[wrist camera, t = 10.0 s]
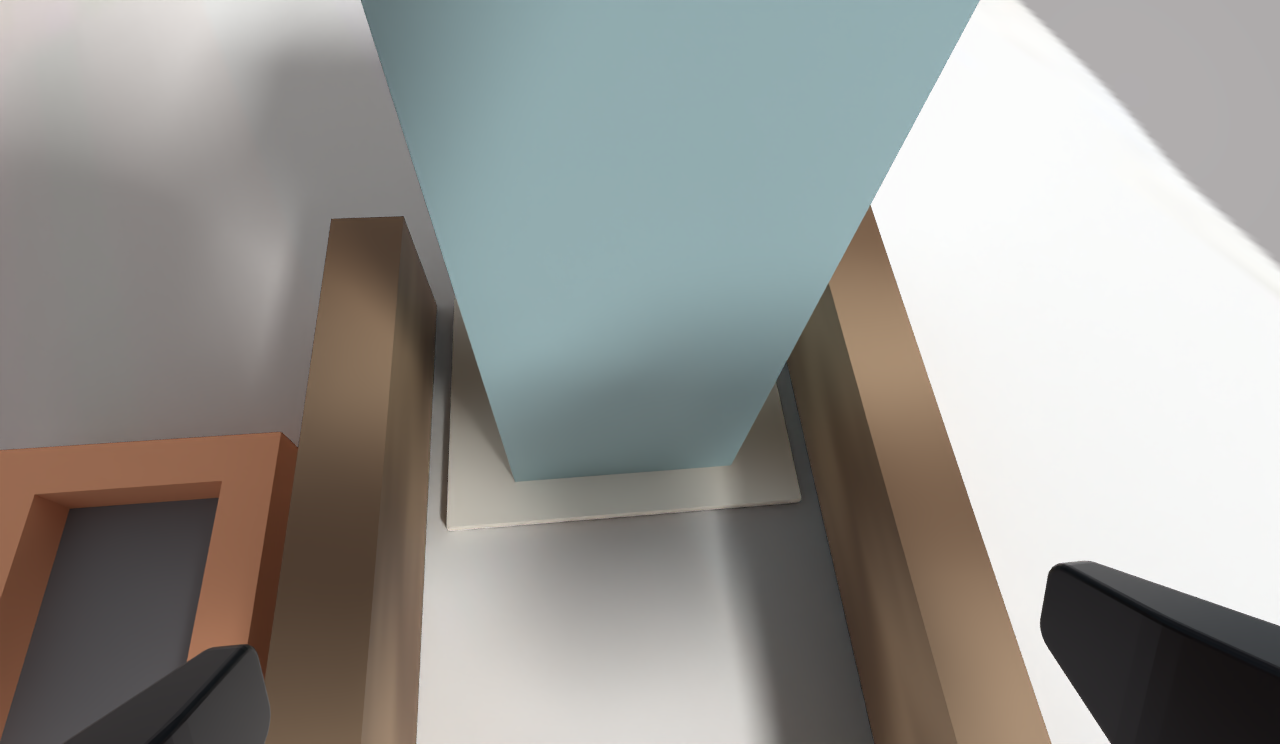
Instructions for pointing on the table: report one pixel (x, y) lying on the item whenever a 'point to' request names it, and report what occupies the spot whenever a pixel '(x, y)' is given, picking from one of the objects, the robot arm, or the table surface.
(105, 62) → the table surface
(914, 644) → the channel
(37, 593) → the frame
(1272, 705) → the robot arm
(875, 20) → the block
